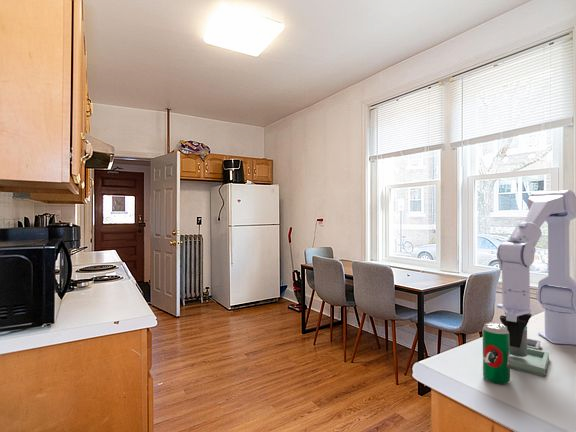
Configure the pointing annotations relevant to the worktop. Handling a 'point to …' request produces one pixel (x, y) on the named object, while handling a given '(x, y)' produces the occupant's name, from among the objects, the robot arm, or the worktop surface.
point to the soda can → (496, 353)
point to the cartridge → (523, 348)
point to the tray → (531, 362)
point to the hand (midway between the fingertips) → (516, 343)
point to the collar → (534, 343)
